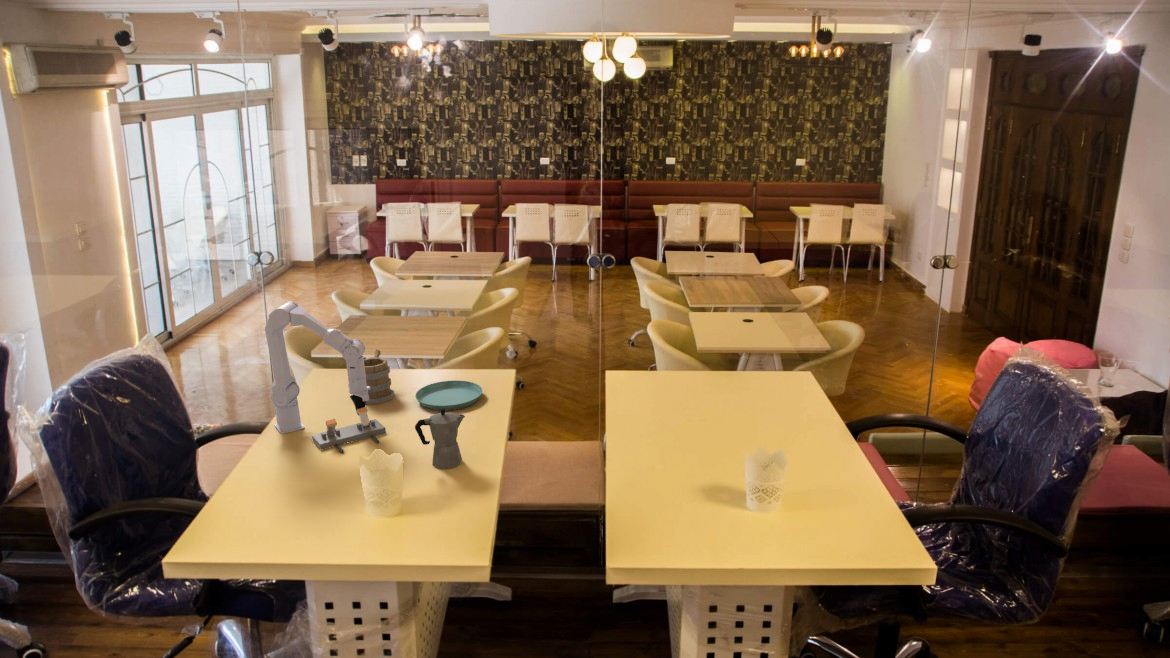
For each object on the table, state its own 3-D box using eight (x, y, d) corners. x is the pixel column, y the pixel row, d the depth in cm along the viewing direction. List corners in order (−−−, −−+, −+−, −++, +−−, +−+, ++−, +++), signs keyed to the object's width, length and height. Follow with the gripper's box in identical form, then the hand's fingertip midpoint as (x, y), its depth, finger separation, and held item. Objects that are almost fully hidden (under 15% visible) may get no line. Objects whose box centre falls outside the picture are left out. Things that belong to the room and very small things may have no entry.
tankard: (389, 403, 326) (385, 364, 321) (354, 404, 326) (349, 365, 321) (400, 384, 345) (396, 347, 340) (368, 385, 345) (363, 348, 341)
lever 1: (325, 434, 295) (325, 421, 291) (334, 432, 296) (334, 418, 292) (327, 438, 294) (327, 424, 289) (336, 435, 295) (336, 422, 291)
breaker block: (312, 440, 296) (311, 430, 295) (376, 424, 307) (375, 414, 306) (327, 457, 284) (326, 446, 282) (393, 439, 295) (392, 429, 294)
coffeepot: (464, 453, 283) (460, 400, 278) (471, 465, 274) (467, 410, 269) (416, 462, 278) (410, 408, 273) (421, 474, 270) (416, 419, 264)
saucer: (406, 412, 318) (405, 403, 317) (428, 387, 341) (427, 379, 340) (472, 414, 314) (471, 405, 313) (490, 389, 337) (489, 381, 336)
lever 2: (361, 428, 300) (356, 409, 301) (370, 426, 302) (365, 407, 303) (362, 427, 299) (357, 409, 300) (371, 425, 300) (366, 406, 301)
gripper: (376, 380, 295) (380, 418, 299) (360, 368, 307) (365, 405, 311) (355, 385, 291) (359, 423, 295) (340, 372, 303) (345, 410, 307)
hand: (361, 414), depth 303 cm, fingers closed, pressing on lever 2
